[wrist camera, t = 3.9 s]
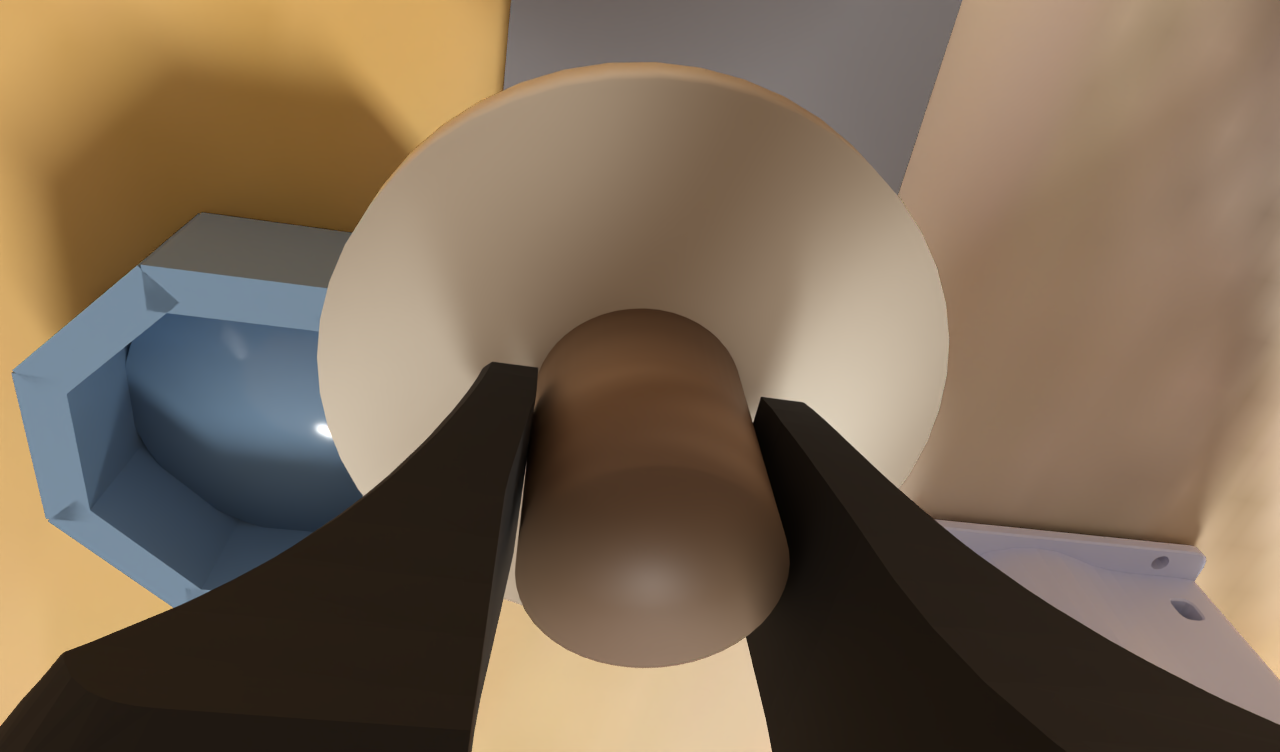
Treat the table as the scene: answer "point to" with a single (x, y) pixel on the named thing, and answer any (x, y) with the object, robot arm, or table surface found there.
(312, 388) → the bowl
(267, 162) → the table surface
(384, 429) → the lid
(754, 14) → the mat
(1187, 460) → the table surface
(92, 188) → the table surface
